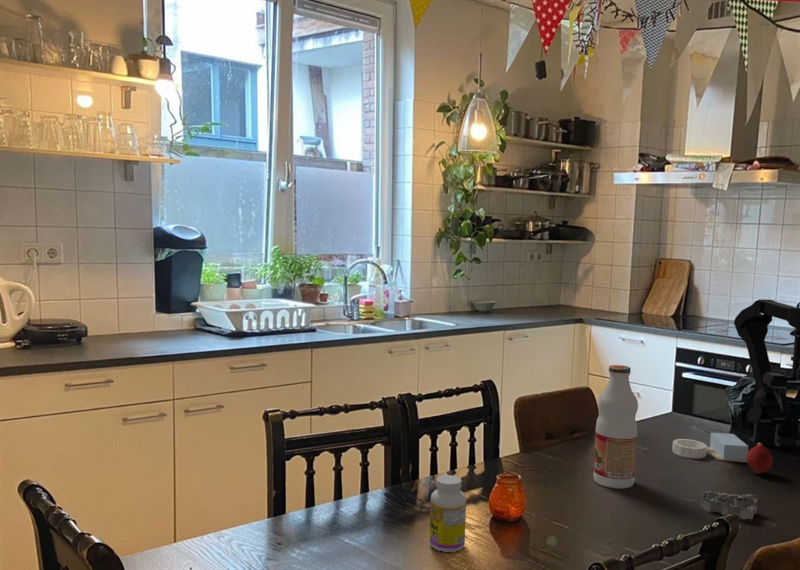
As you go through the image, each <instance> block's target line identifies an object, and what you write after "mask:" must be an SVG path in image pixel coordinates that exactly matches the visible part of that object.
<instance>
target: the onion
mask: <svg viewBox="0 0 800 570" xmlns="http://www.w3.org/2000/svg"><path fill="white" fill-rule="evenodd" d="M773 460H774V459H773V456H772V454H771V452H770V451H769V449H768V448H767V447H766V446H763V445H762V444H761V443H757V445H756V446H753V447H751V448H750V449H748V453H747V462H746V463H747V465H748V466H749V468H750V469H752V471H754V473H756V474H758V475H761V474H763V473H765V472H767V471H769V470H770V469H771V467H772V465H773Z"/></svg>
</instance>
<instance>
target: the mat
mask: <svg viewBox="0 0 800 570" xmlns="http://www.w3.org/2000/svg"><path fill="white" fill-rule="evenodd" d="M707 453H709V454H710V455H711V456H713V458H714V459H715V460H717V461H718V462H734V463H735V462H736V463H737V462H738V463H747V461H738V460H724V459H722V458H721V457H720V456H719V455H718V454H717V453H716V452H715V451H714V450H713V449H712V448H711V447H710V446H708V445H707Z"/></svg>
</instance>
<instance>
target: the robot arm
mask: <svg viewBox="0 0 800 570" xmlns="http://www.w3.org/2000/svg"><path fill="white" fill-rule="evenodd" d="M773 318H776V319H780V320H783V321H786V322H787V324H788V325H789V326H790V327H792V328H794V329H793V330H791V331H790V332H789V335H790V336H792V337H794V341H793V342H794V343H793V356H790V361H792V369H791V370H792V371H789V376H787V375H784V374H782V373H781V372H773V369H772V365H771V362H770V358H769V354H768V353H769V352H768V349H767V345H766V341H765V340H766V336H767V334H768V333H769V327H768V326H769V325H770V324H771V323H772V321H773ZM733 324H734V327H735V329H736V332H737V336H738V337H739V338H740V339H741V340H742V341H743V342H744V343H745V345H746V349H747V355H748V357H749V361H750V366H751V370H752V374H753V378H754V379H753V380H754V382H755V383H754V384H755V387H756V393H755V394H754V397H753V400H752V401H753V402H752V403H753V406H752V407H751V408H750V409H749V410H748V411H747V413H746V418H747V421H748V422H749V423H752V424H754V428H753V437H748V440H749V441H750V442H752V444H754V445H756V446H757V443H761V444H762V445H763V446H764V447H772V448H781V447H782V446H781V444H780V443H778V442H777V433H778V425H783V426H785V424H786V422H787V419H788V417H789V415H790V408H789V407H790V404H789V402H788V397H787V392H788V390H789V389H788V387H787V385H788V384H791V385H800V307H796V306H793V305H790V304H786V303H781V302H778V301H775V300H773V299H758V300H755V301H754V302H753V303H752V304H751V305H749V306H747V307H746V308H744V309H742V310H740V312H739V313H738V314H737V315H736V316H735V318H734V320H733Z"/></svg>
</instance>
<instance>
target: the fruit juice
mask: <svg viewBox="0 0 800 570" xmlns="http://www.w3.org/2000/svg"><path fill="white" fill-rule="evenodd" d="M608 374H609V379H608V382H607V385H606V387H605V389H603V391H602V392H601V393H600V395H599V396H598V400H597V408H598V417H597V419H596V423H595V439H594V458H593V460H594V461H593V480H594V481H595V483H597V484H598V485H600V486H603V487H605V488H610V489H617V490H619V489H622V490H623V489H629V488H631V487H633V486H634V484H635V479H636V478H635V475H636V461H637V460H636V458H637V457H636V456H637V443H638V442H637V440H638V424H637V421H636V415H637V413H638V410H639V401H638V399H637V397H636V395H635V394H634V392H633V390H632V388H631V383H630V378H629V377H630V375H631V367H630V366H628V365H622V364H610V365H609V366H608Z"/></svg>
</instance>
